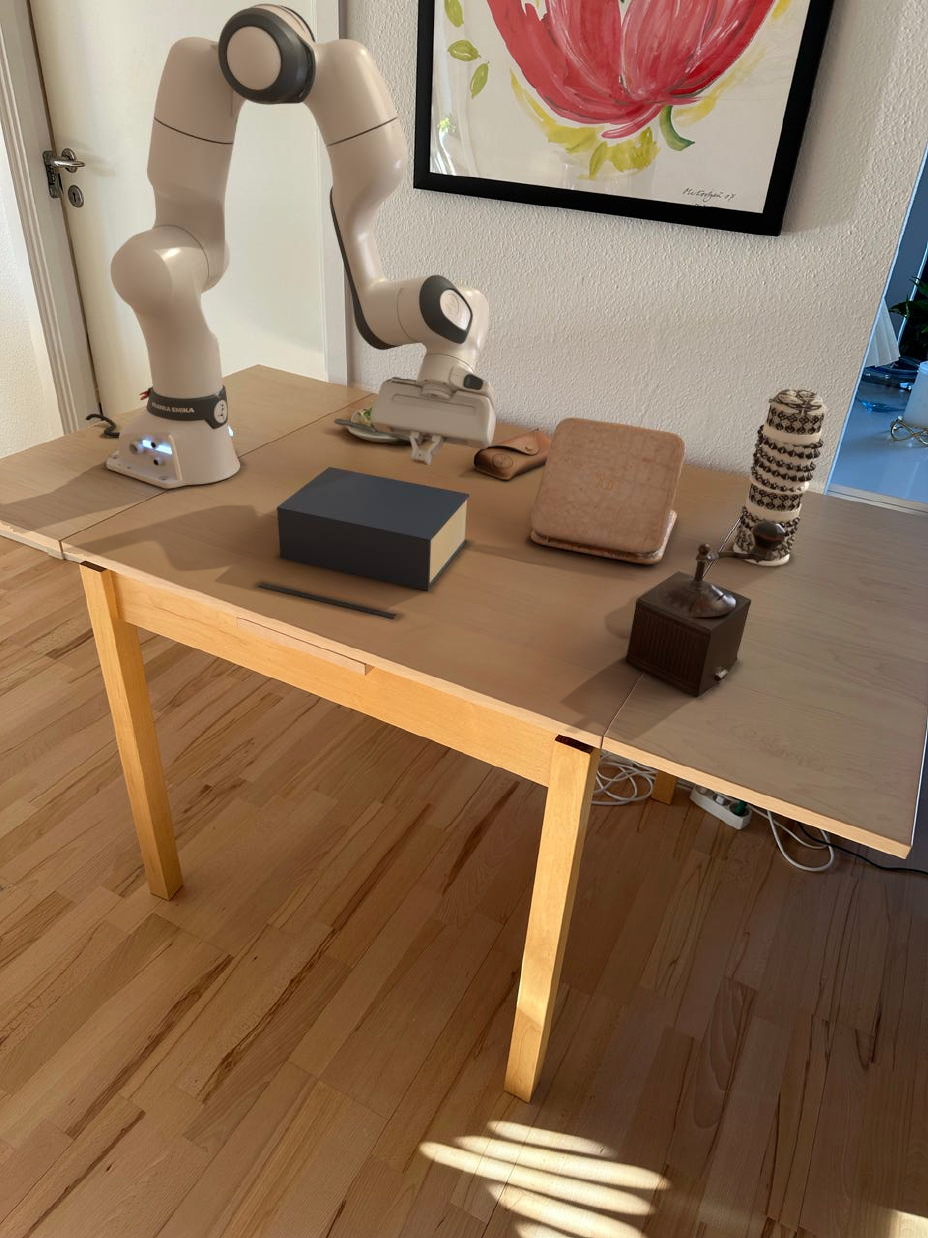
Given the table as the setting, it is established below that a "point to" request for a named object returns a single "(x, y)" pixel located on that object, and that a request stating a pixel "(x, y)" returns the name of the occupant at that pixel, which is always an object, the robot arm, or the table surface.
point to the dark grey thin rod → (328, 600)
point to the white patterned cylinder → (782, 468)
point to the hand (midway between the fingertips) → (419, 462)
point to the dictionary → (373, 527)
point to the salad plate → (371, 429)
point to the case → (608, 490)
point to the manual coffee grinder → (695, 621)
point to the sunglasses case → (513, 455)
